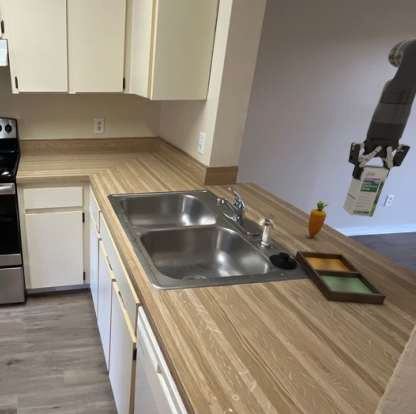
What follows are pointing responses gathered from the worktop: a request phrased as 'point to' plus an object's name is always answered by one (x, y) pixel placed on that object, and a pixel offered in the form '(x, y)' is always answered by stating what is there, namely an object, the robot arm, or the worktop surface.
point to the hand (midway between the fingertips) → (368, 179)
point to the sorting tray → (339, 278)
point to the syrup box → (365, 191)
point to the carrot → (317, 219)
